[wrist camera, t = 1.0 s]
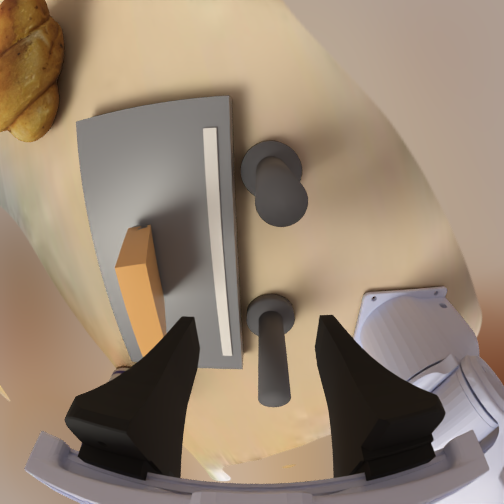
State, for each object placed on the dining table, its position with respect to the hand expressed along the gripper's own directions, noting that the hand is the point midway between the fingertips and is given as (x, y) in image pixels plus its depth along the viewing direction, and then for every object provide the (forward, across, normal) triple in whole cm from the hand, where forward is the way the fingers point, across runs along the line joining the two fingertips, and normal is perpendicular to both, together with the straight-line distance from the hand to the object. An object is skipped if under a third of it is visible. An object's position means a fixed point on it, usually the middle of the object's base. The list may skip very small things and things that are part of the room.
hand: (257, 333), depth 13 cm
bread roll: (+10, +19, -17) cm, 27 cm away
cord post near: (+9, -1, -6) cm, 11 cm away
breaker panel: (+9, +7, 0) cm, 12 cm away
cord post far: (+9, -1, +6) cm, 11 cm away
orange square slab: (+7, +8, 0) cm, 11 cm away
